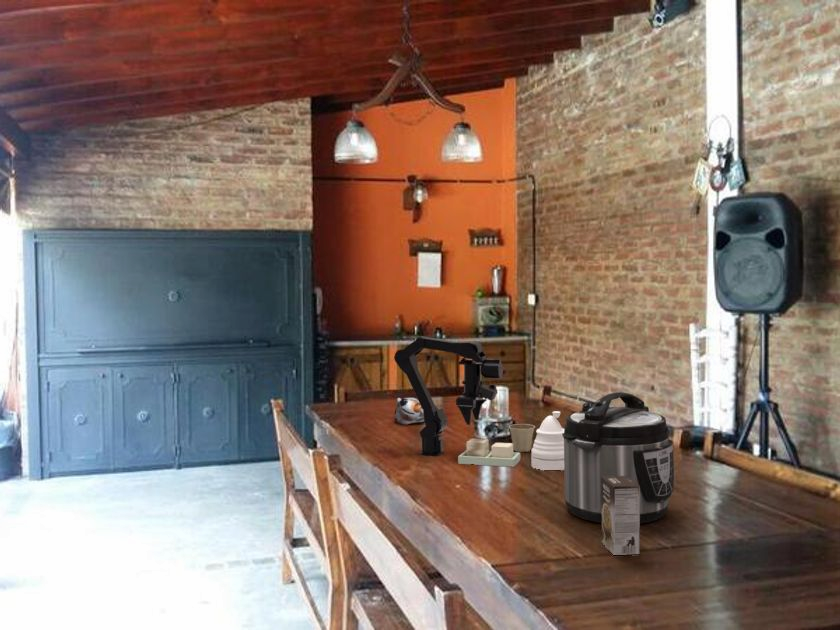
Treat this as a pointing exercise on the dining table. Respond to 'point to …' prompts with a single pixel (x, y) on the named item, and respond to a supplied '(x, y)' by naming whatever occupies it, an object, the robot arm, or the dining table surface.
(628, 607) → the dining table surface
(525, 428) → the flower pot
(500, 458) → the tray
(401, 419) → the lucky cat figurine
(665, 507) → the pressure cooker
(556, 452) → the honey pot
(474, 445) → the maple cube
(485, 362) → the robot arm
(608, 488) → the coffee box
